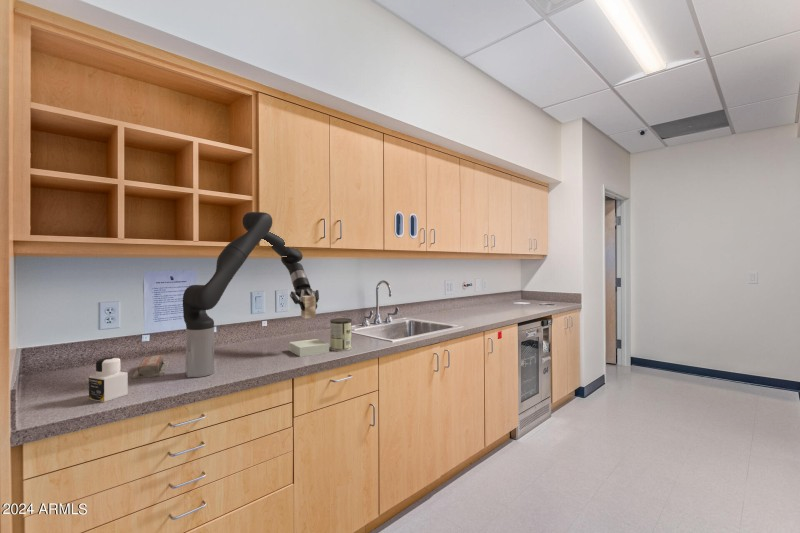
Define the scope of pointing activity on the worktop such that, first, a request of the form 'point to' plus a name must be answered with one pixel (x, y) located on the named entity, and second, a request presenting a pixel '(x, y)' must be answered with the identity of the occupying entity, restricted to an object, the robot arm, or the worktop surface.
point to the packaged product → (151, 367)
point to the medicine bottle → (108, 380)
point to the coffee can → (340, 334)
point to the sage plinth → (308, 347)
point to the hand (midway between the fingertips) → (310, 309)
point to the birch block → (309, 307)
